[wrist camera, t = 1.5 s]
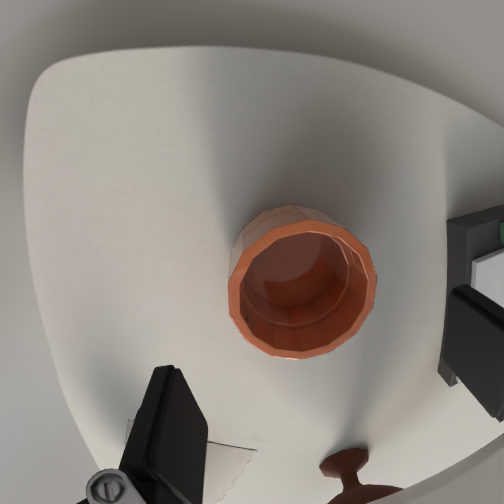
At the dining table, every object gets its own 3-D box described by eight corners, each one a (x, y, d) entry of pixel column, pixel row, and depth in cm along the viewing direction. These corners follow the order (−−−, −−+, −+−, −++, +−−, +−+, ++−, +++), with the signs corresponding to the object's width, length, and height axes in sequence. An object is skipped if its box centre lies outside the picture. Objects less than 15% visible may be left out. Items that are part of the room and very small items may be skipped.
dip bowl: (216, 220, 17) (207, 244, 12) (334, 192, 17) (369, 205, 12) (246, 322, 19) (247, 372, 14) (350, 296, 19) (380, 336, 14)
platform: (123, 490, 27) (113, 528, 20) (128, 419, 22) (108, 476, 15) (211, 511, 28) (210, 550, 22) (256, 450, 23) (260, 508, 17)
